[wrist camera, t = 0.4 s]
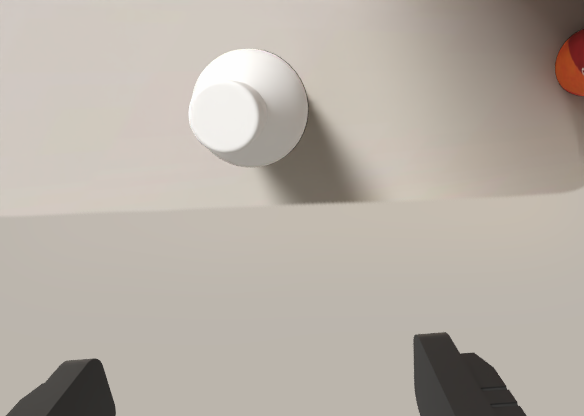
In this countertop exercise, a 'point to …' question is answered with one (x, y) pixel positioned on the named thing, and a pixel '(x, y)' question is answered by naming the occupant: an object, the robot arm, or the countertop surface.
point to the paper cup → (571, 64)
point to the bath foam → (249, 108)
